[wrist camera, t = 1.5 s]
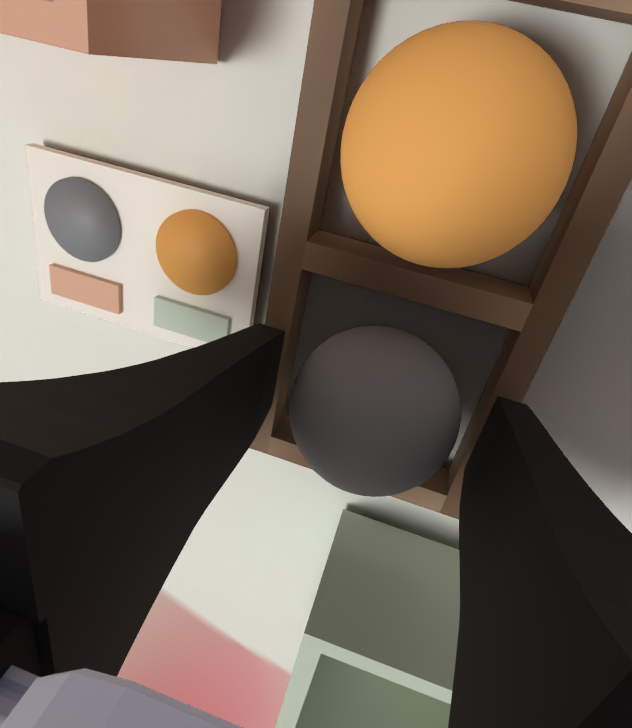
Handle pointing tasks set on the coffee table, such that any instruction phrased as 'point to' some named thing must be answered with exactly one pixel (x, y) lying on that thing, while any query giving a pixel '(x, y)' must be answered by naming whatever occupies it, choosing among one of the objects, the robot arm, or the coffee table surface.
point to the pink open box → (119, 27)
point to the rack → (422, 283)
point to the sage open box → (378, 633)
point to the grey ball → (375, 410)
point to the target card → (144, 248)
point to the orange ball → (458, 144)
